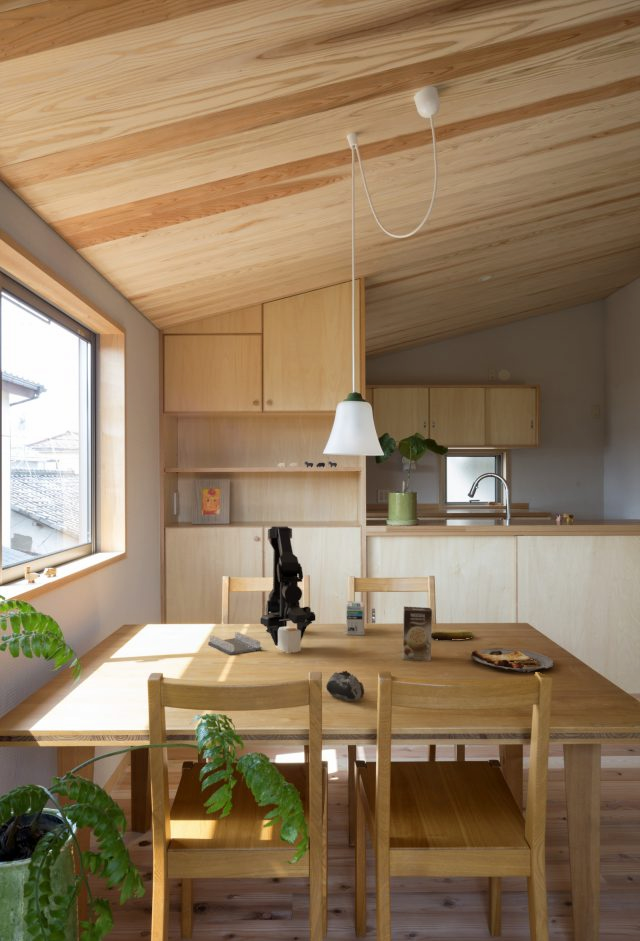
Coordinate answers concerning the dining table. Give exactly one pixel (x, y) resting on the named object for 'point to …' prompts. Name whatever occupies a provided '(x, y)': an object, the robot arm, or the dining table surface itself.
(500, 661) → the food plate
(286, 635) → the module block
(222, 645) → the rail plate
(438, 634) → the green pickle
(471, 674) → the dining table surface
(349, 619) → the light bulb box
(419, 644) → the coffee box
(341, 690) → the dark grey rounded lump
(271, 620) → the robot arm
